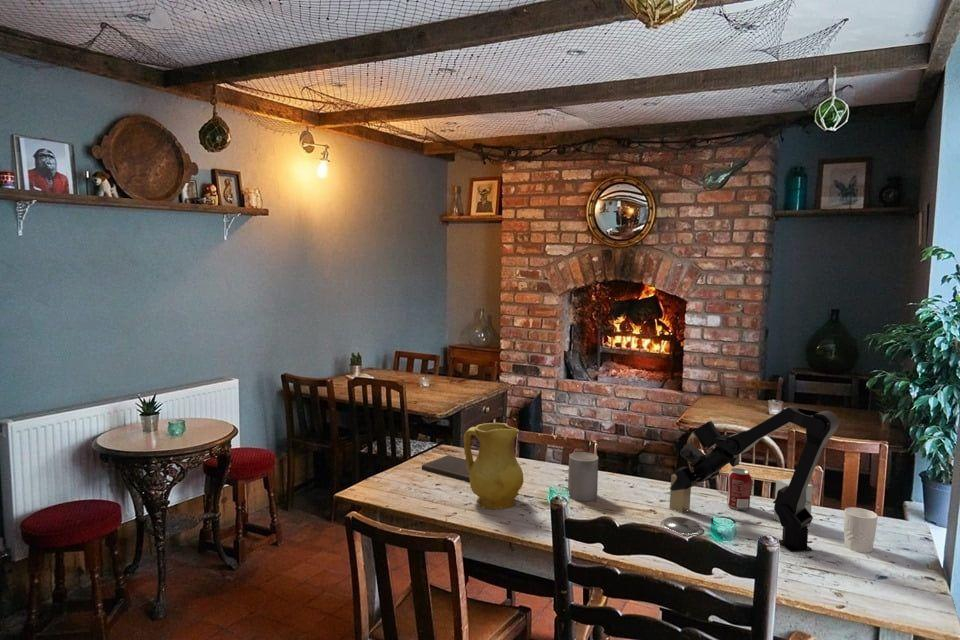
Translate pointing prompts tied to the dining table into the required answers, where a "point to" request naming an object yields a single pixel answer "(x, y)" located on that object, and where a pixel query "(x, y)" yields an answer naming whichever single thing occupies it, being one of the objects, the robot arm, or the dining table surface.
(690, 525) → the plate
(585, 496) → the pillar candle
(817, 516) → the dining table surface
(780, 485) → the supplement box
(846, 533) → the white cup
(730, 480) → the soda can
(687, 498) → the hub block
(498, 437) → the pitcher
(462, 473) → the hardcover book
